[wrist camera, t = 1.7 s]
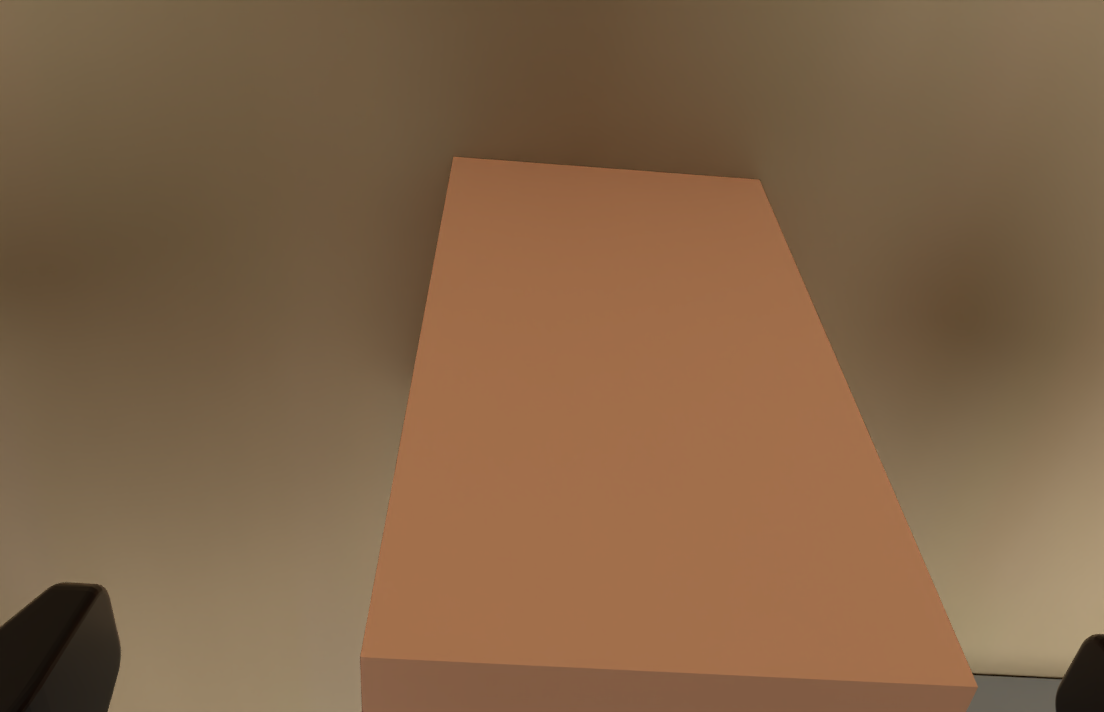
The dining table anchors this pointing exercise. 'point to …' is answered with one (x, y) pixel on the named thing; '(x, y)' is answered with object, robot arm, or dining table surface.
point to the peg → (639, 471)
